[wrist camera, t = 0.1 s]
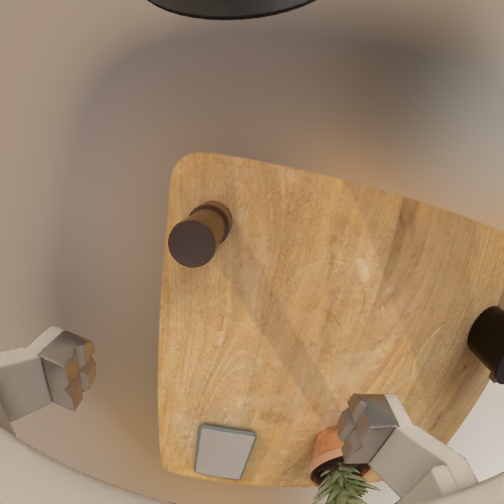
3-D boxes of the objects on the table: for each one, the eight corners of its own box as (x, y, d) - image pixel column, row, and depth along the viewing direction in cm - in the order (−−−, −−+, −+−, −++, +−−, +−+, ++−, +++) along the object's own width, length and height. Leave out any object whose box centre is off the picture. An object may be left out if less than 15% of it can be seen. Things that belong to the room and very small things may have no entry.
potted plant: (368, 414, 37) (416, 552, 13) (356, 450, 40) (387, 570, 16) (303, 421, 37) (323, 576, 14) (297, 456, 40) (310, 586, 16)
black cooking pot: (482, 297, 32) (519, 323, 24) (512, 303, 32) (545, 326, 24) (455, 356, 34) (484, 389, 26) (487, 357, 35) (515, 385, 26)
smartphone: (193, 473, 41) (199, 426, 37) (194, 468, 42) (200, 421, 38) (240, 480, 41) (257, 435, 37) (240, 476, 42) (257, 430, 38)
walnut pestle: (197, 197, 30) (168, 210, 20) (235, 205, 30) (224, 221, 20) (190, 235, 31) (161, 265, 21) (228, 243, 31) (214, 276, 21)
